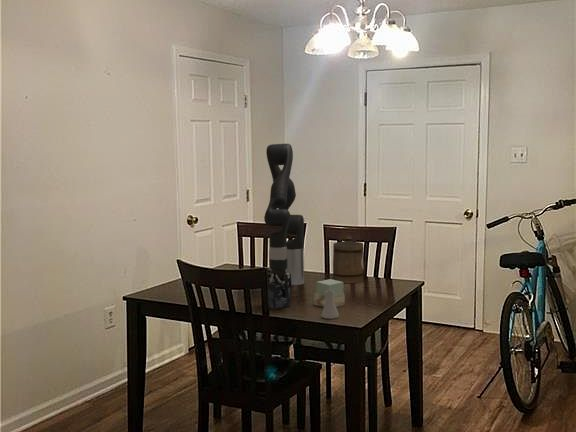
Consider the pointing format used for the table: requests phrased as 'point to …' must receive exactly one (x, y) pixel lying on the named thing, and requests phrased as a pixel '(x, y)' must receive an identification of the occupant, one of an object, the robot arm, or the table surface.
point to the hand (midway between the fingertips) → (278, 296)
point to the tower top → (329, 287)
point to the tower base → (321, 300)
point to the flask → (330, 307)
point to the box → (277, 296)
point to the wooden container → (348, 261)
